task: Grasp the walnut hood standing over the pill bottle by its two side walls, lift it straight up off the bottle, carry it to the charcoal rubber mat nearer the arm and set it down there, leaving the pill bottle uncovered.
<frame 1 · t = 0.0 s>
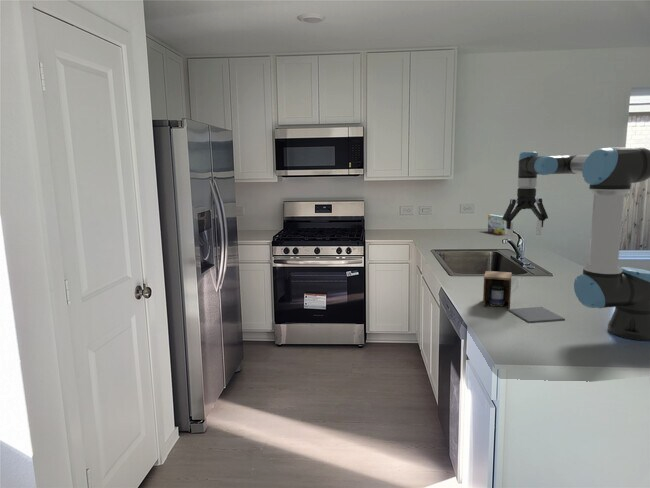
hand: (524, 235, 203), 28 cm above the counter, fingers open, 13 cm apart
snack box: (497, 233, 383), on the counter
mat: (535, 315, 182), on the counter
hood: (496, 304, 197), on the counter
pill bottle: (496, 304, 197), on the counter
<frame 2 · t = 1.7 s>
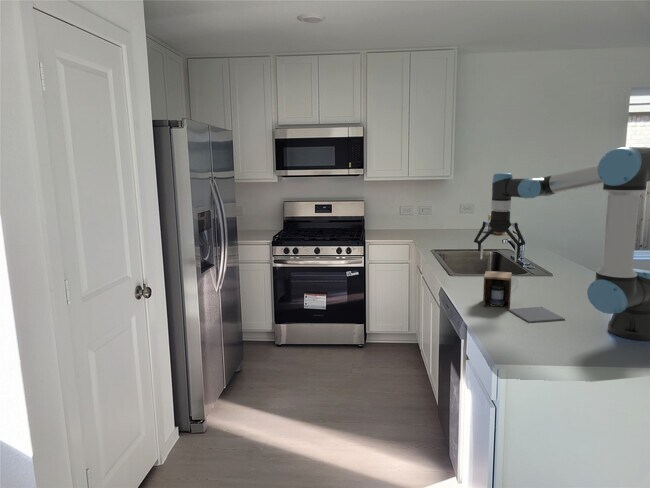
hand: (498, 260, 194), 20 cm above the counter, fingers open, 13 cm apart
nothing on the counter moved.
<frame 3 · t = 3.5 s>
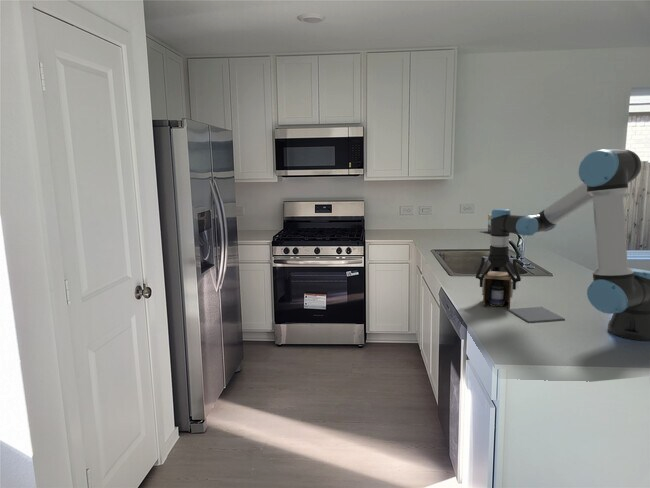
hand: (497, 295, 196), 4 cm above the counter, fingers closed on hood, 11 cm apart
hood: (496, 304, 197), on the counter, touching gripper
everything else where it was.
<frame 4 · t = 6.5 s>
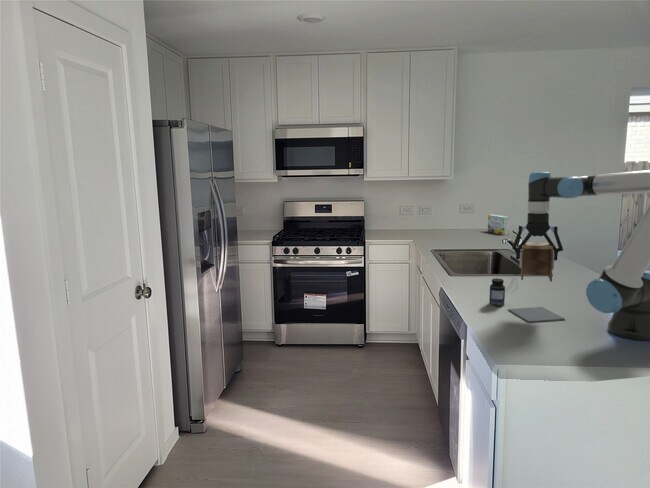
hand: (536, 267, 180), 19 cm above the counter, fingers closed on hood, 11 cm apart
hood: (535, 277, 180), point 15 cm above the counter, touching gripper
everything else where it was.
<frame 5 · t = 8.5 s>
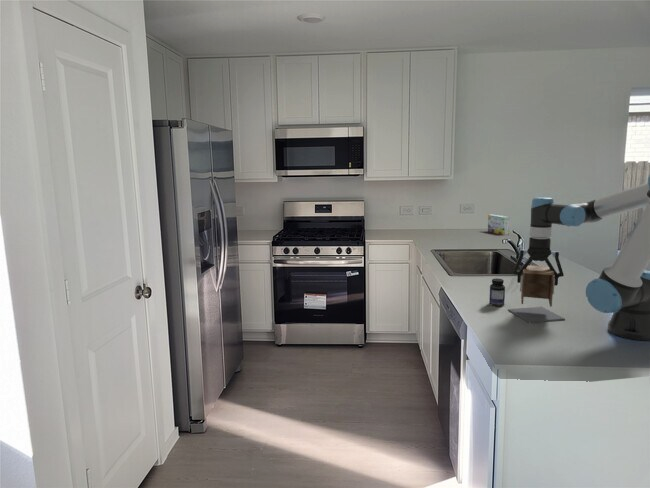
hand: (536, 291, 181), 10 cm above the counter, fingers closed on hood, 11 cm apart
hood: (535, 301, 182), point 6 cm above the counter, touching gripper
everything else where it was.
when the fingers open (6 cm above the counter, at t = 9.9 s): hood drops 1 cm, resting on mat.
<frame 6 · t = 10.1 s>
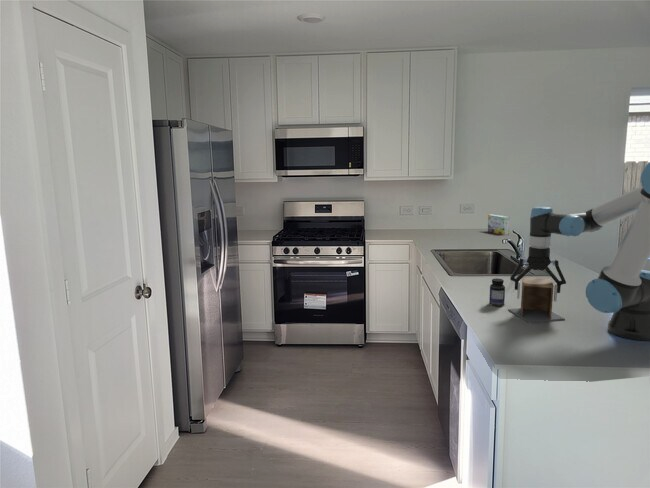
hand: (536, 299, 181), 7 cm above the counter, fingers open, 13 cm apart
hood: (535, 313, 182), point 1 cm above the counter, touching mat
everything else where it was.
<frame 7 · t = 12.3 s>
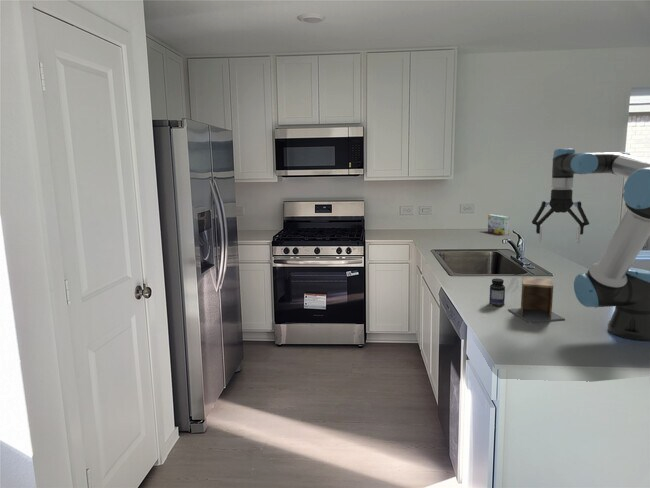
hand: (558, 242, 182), 29 cm above the counter, fingers open, 13 cm apart
nothing on the counter moved.
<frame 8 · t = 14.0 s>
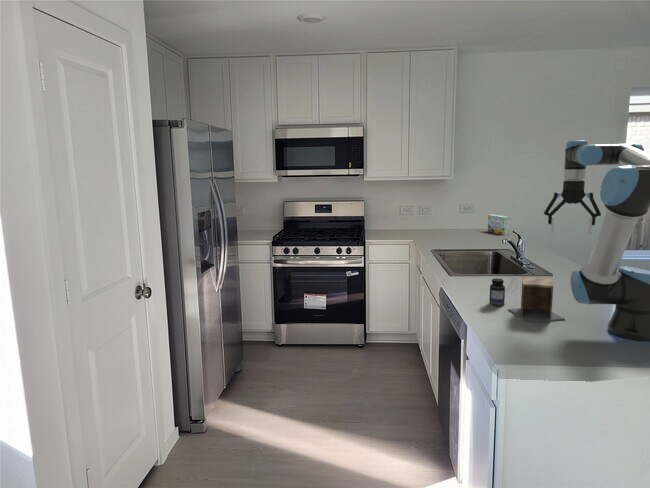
hand: (570, 232, 185), 32 cm above the counter, fingers open, 13 cm apart
nothing on the counter moved.
at the end: hood inside the target area on the mat (0.1 cm from its centre), point 0.6 cm above the mat's base; hood tilted 0°; pill bottle moved 0.2 cm from its start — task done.
